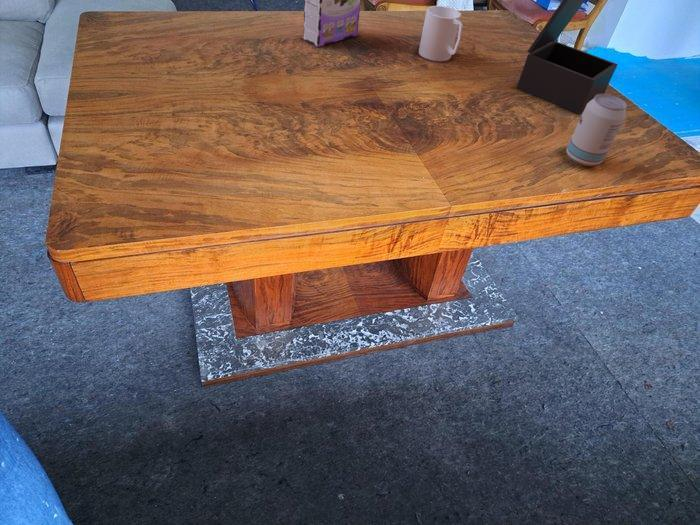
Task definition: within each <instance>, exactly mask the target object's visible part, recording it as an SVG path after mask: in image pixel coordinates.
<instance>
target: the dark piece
mask: <svg viewBox="0 0 700 525" xmlns="http://www.w3.org/2000/svg"><path fill="white" fill-rule="evenodd" d="M618 66H619V64H618V63H616V62H613V61H610V60H608V59H605V58H602V57H601V56H597V55H594V54H591V53H589V52H586V51H583V50H581V49H577V48H575V47H572V46H570V45H567V44H564V43H561V42H559V41H557V40H555V41H553V42H551V43H549V44H547V45H545V46H543V47H542V48H540V49H538V50H536V51H534V52H532V53H529V54H527V56H526V59H525V62H524V65H523V68H522V71H521V73H520V77H519V80H518V82H517V85H516V89H518V90H520V91H523V92H525V93H528V94H529V95H532V96H535V97H537V98H539V99H542V100H544V101H546V102H548V103H551V104H554V105H555V106H557V107H560V108H562V109H564V110H567V111H570V112H571V113H575V114H577V115H581V114H583V112H584V109H585V107H586V105H587V103H588V102H590V101H591V100H592V99H594V97H595V96H596V95H597V94H606V90H607V88H608V86H609V84H610V82H611V80H612V78H613V76H614V73H615V72H616V69H617V67H618Z"/></svg>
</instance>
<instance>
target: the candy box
mask: <svg viewBox="0 0 700 525" xmlns="http://www.w3.org/2000/svg"><path fill="white" fill-rule="evenodd" d="M361 1H362V0H304V7H303V32H302V33H303V37H302V39H303V40H305V41H306V42H308V43H310V44H311V45H313V46H315V47H317V48H318V47H323V46H325V45H330V44H333V43H336V42H339V41H342V40H346V39H349V38H353V37H356V36H358V34H359V22H360V12H361Z"/></svg>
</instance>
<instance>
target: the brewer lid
mask: <svg viewBox="0 0 700 525" xmlns="http://www.w3.org/2000/svg"><path fill="white" fill-rule="evenodd" d="M585 2H586V0H562V1H560V3H559V5H558V6H557V8H556V9H555V10H554V12H553V14H552V15H551V17H550V18H549V19H548V21H547V22H546V23H545V25H544V27H543V28H542V30H541V31H540V32H539V34H538V35H537V37H535V39H534V41H533V42H532V43H531V45H530V47H529V48H528V50H527V53H529V54H530V53H532V52H534V51H536V50H538V49H540V48H542V47H544V46H546V45H548V44H549V43H551V42H553V41H557V40H558V39H559V38H560V36H561V35H562V33H563V32H564V31H565V29H566V28H567V27H568V25H569V24H570V22H571V21H572V19H574V17H575V15H576V14H577V13H578V11H579V10H580V9H581V7H582V6H583V4H585Z"/></svg>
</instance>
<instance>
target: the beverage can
mask: <svg viewBox="0 0 700 525" xmlns="http://www.w3.org/2000/svg"><path fill="white" fill-rule="evenodd" d="M627 107H628V104H627V102H625V100H623V99H622V98H620V97H618V96H615V95H613V94H609V93H604V94H597V95H596V96H595V97H594V99H592V100H591V101H590V102H588V103H587V105H586V107H585V109H584V111H583V112H582V113H581V116H580V118H579V120H578V121H577V122H578V123H577V125H576V127H575V129H574V131H573V134H572V136H571V138H570V140H569V142H568V144H567V147H566V150H565V151H566V154H567V156H568V157H569V159H570V160H571V161H572V162H574V163H575V164H577V165H580V166H584V167H591V166H592V167H593V166H597V165H600V164H602V163H603V161H604V159H605V157H606V155H607V154H608V152H609V150H610V148H611V146H612V144H613V142H614V140H615V138H616V137H617V135H618V133H619V131H620V130H621V127H622V125H623V123H624V121H625V119H626V117H627Z"/></svg>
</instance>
